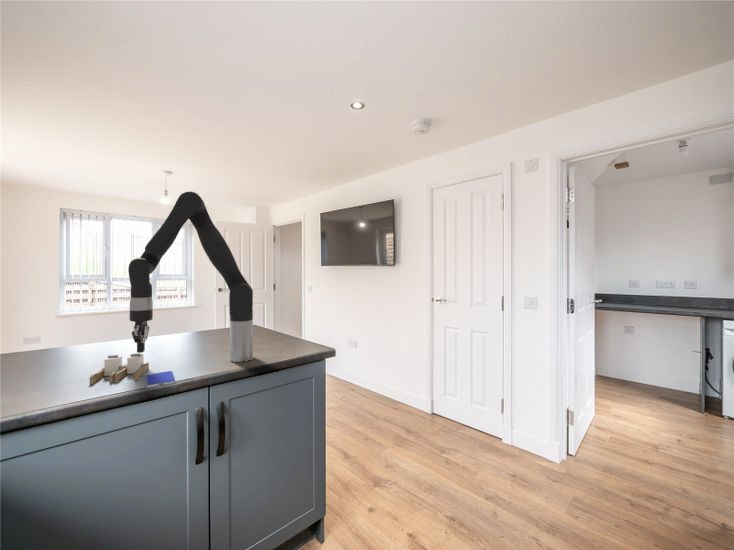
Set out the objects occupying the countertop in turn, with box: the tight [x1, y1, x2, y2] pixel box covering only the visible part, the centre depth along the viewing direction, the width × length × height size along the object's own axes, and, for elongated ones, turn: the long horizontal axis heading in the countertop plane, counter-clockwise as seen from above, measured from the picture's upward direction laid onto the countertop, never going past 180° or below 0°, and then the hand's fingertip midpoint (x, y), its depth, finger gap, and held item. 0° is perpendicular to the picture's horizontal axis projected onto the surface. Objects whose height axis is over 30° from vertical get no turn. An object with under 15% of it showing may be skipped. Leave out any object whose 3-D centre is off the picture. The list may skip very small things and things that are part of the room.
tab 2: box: [126, 353, 145, 375], centre depth 122 cm, size 4×4×7 cm
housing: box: [89, 363, 127, 385], centre depth 117 cm, size 6×14×3 cm, turn 19°
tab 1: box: [103, 354, 123, 377], centre depth 120 cm, size 4×4×7 cm
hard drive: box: [145, 370, 177, 389], centre depth 114 cm, size 2×8×12 cm
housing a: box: [114, 362, 150, 383], centre depth 119 cm, size 6×14×3 cm, turn 19°
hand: (140, 352), depth 128 cm, fingers closed
